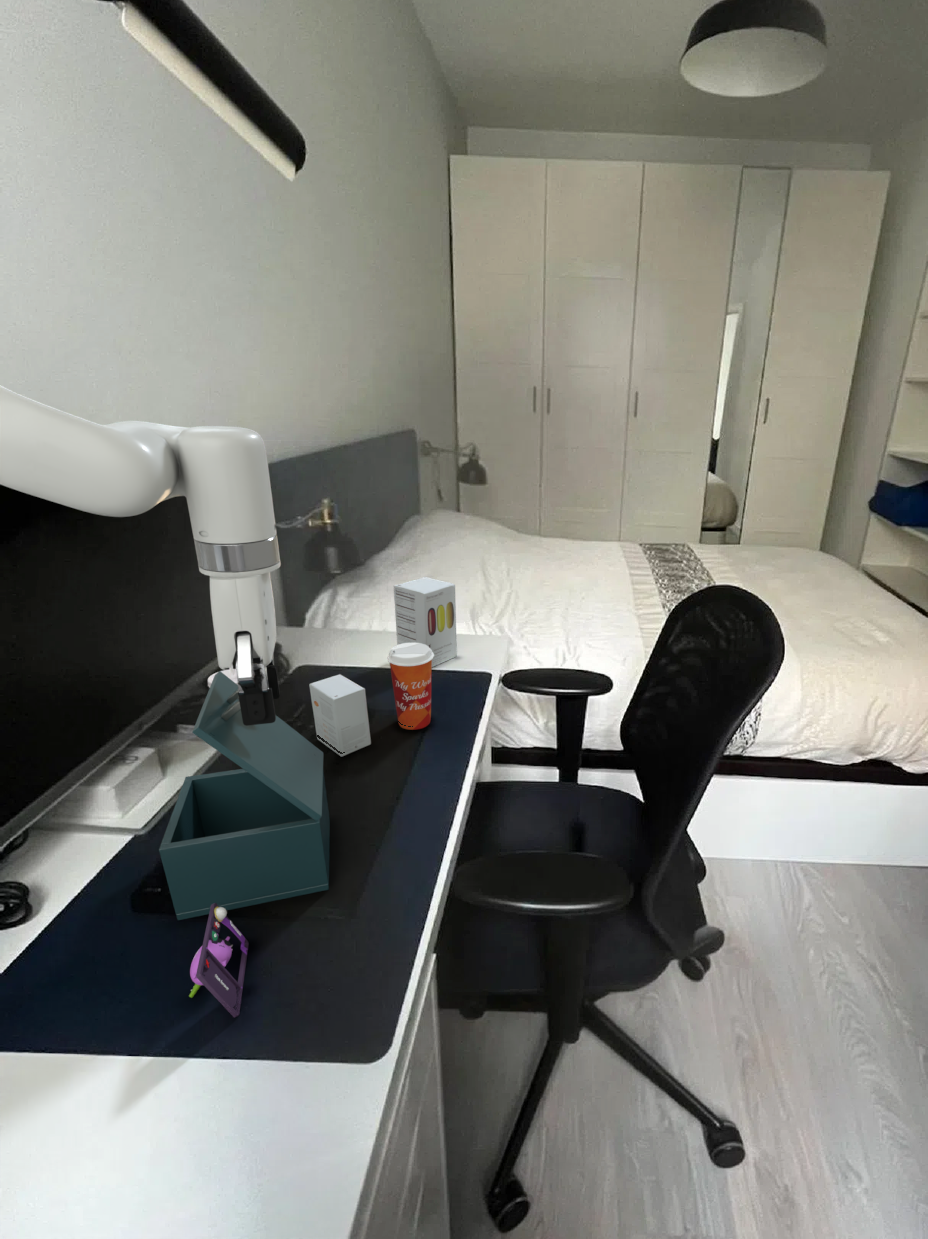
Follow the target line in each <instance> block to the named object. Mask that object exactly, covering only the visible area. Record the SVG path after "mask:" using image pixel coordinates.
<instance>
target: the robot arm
mask: <svg viewBox="0 0 928 1239" xmlns="http://www.w3.org/2000/svg"><path fill="white" fill-rule="evenodd" d="M0 486H3V487H6V488H9V489H11V490H15V491H18V492H21V493H24V494H26V495H30V496H33V497H37V498H40V499H43V500H46V501H49V502H53V503H55V504H59V505H62V506H65V507H68V508H72V509H75V510H78V511H82V512H84V513H85V512H86V513H89V514H93V515H99V516H103V517H111V518H112V517H113V518H126V517H133V516H139V515H141V514H144V513H146V512H149V511H150V510H152V509H153V508H154V507H155V506H157V505H158V504H159V503H161V502H164V501H167V500H169V499H173V498H175V497H185V499H186V504H187V509H188V514H189V520H190V526H191V531H192V536H193V541H194V549H195V554H196V559H197V566H198V571H199V573H201V574H202V575H204V576H208V577H209V597H210V609H211V616H212V625H213V634H214V642H215V649H216V656H217V657H216V658H217V664H218V667H219V669H221V671H223V670H228V669H229V668H231V666H232V665H233V663H234V662H235V669H236V673H237V682H238V696H239V702H240V708H241V714H242V720H243V724H244V725H246V726H249V725H258V724H267V723H273V722H275V720H276V716H277V714H276V709H275V701H274V700H277V699H279V698H280V696H281V691H280V686H279V678H278V670H277V665H275V657H274V652H275V646H276V642H277V619H276V607H275V600H274V592H273V585H272V584H273V583H272V577H271V573H272V572H275V571H277V570H278V569H279V568H280V567H281V565H282V563H281V557H280V549H279V541H278V534H277V527H276V525H277V524H276V517H275V511H274V502H273V501H274V500H273V494H272V488H271V487H272V485H271V478H270V470H269V462H268V455H267V448H266V443H265V441H264V439H263V437H262V435H261V434H260V433H259V432H257V431H256V430H254V429H251V428H247V427H242V426H229V425H203V426H202V425H200V426H190V427H187V426H178V425H170V424H165V423H164V424H163V423H157V422H151V421H146V420H145V421H143V420H121V421H116V422H112V423H107V424H101V423H97V422H94V421H92V420H89V419H86V418H84V417H81V416H77V415H75V414H72V413H70V412H66V411H64V410H62V409H58V408H56V407H53V406H50V405H48V404H46V403H42V402H40V401H37V400H35V399H32V398H30V397H28V396H26V395H23V394H20V393H18V392H15V391H14V390H11V389H10V388H8V387H5V386H3V385H1V384H0ZM254 672H257V673H259V674H260V677H259V675H255V673H254Z"/></svg>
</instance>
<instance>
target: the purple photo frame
mask: <svg viewBox="0 0 928 1239" xmlns="http://www.w3.org/2000/svg"><path fill="white" fill-rule="evenodd" d="M227 914H228V910H227V911H226V909H225V908H223V907H219V906H218V905H217V904H216V903H214V904H212V905H211V908H210V912H209V914H208V918H207V922H206V928H205V932H204V935H203V936H204V937H203V941H202V945H201V946H200V947H199V949H198V950H197V951H196V952H195V954H194V957H193V959H192V960H191V964H190V967H189V976H190V979H191V981H192V982H193V983H194V985H193V987H192V989H190V993H189V995H188V997H189V998H191V999H192V998H194V997H195V996H196V994H197V992H198V990H200V988H201V986H204V987H205V989H206V990H207V991H209V993H210V994H211V995H212V996H213V997H214V998H215V999H216V1000H217V1002H219V1003H220V1005H221V1006H223V1008H224V1009H225V1010H226V1011H227V1012H228V1013H229V1014H230V1015H231V1016H232V1018H236V1017H239V1016H240V1013H241V1012H240V1011H241V1004H242V997H243V989H244V982H245V975H246V974H245V973H246V966H247V960H248V959H247V958H248V951H249V945H250V944H249V941H248V939H247V938H246V937H245V935H243V933H242V932H241V930H239V929H238V928H237V926H236V925H235V924H234V922H233V921H232V920H231V919H230V918H229V916H228V915H227ZM221 924H223V925H224V926H225V927H226V928H228V929H229V930H230V932H232V934H233V935H234V936H235V937H236V938H237V940H238V941H239V942H240V950H241V957H240V964H239V971H238V978H237V979H236V978H234V977H233V975H232V974H231V973H230V971H229V970H227V968H225V967H226V966H227V965H228V963H229V961H230V959H231V958H232V954H233V953H232V952H233V946H234V944H231V942H230V939H231V936H229V935H228V936H226V938H221V937H219V934H220V931H221Z"/></svg>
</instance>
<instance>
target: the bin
mask: <svg viewBox="0 0 928 1239" xmlns="http://www.w3.org/2000/svg"><path fill="white" fill-rule="evenodd" d="M326 788H327V787H326V779H325V772H324V771H323V787H322V817H321V818H319V819H318V820H317V821H316V820H314V819H313V818H312V817H310V816H309V815H307V814H306V813H305V812H303V811H302V810H300V809H299V808H297V807H296V806H295V805H293V804H292V803H290V802H289V801H288V800H286V799H285V798H283V797H282V796H281V795H279V794H278V793H276V792H275V791H274V790H272V789H271V788H269V787H268V786H267V785H265V784H264V783H262V782H261V781H260V780H258V779H257V778H255V777H254V776H253V775H251V774H250V773H248V772H247V771H246V770H244V769H243V768H240V769H239V768H238V769H232V770H224V771H217V772H211V773H203V774H197V775H196V774H195V775H189V776H185V777H184V780H183V782H182V785H181V789H180V791H179V794H178V797H177V799H176V802H175V805H174V808H173V810H172V813H171V815H170V818H169V821H168V824H167V826H166V829H165V832H164V835H163V837H162V839H161V843H160V845H159V848H158V852H159V856H160V859H161V863H162V868H163V871H164V874H165V879H166V882H167V886H168V889H169V894H170V897H171V901H172V905H173V909H174V912H175V913H174V914H175V916H176V920H177V921H182V920H187V919H192V918H197V917H201V916H206V915H207V916H208V915H209V912H210V908H211V905H212V904H214V903H216V904H217V905H218V906H219V907H223V908H225V909H226V911H227V912H228V911H231V910H235V909H240V908H241V909H242V908H245V907H250V906H255V905H256V906H257V905H261V904H266V903H270V902H276V901H280V900H285V899H291V898H295V897H300V896H305V895H309V894H314V893H315V894H316V893H319V892H324V891H329V890H330V830H331V829H330V828H331V827H330V826H331V824H330V822H331V821H330V820H331V818H330V812H329V811H330V810H329V804H328V802H329V801H328V796H327V789H326Z"/></svg>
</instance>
